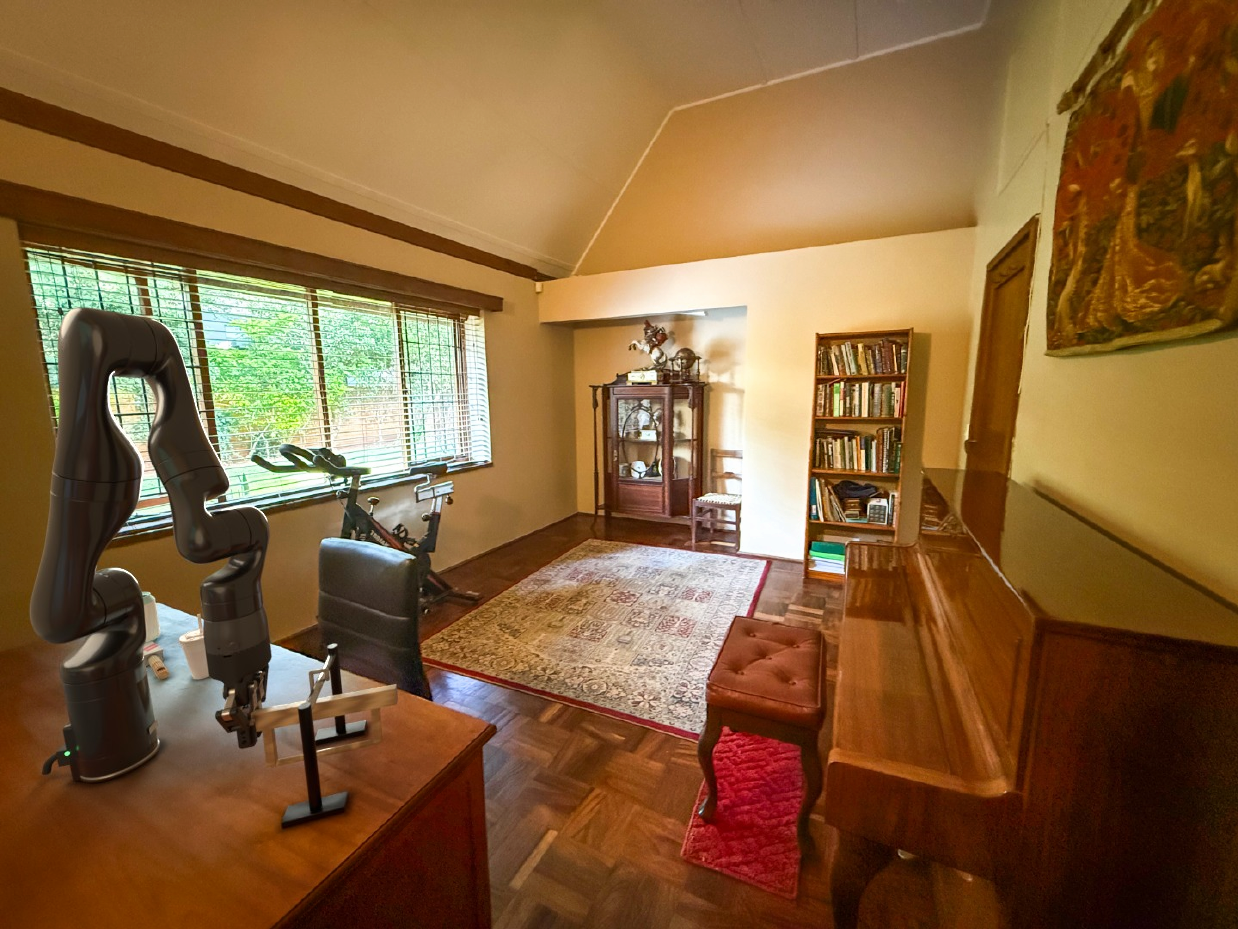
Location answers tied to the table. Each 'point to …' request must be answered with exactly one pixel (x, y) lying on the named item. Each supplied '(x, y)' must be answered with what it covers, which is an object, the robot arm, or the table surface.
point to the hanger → (324, 709)
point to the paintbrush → (155, 659)
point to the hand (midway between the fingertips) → (250, 741)
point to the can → (151, 617)
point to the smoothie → (195, 651)
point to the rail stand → (341, 730)
